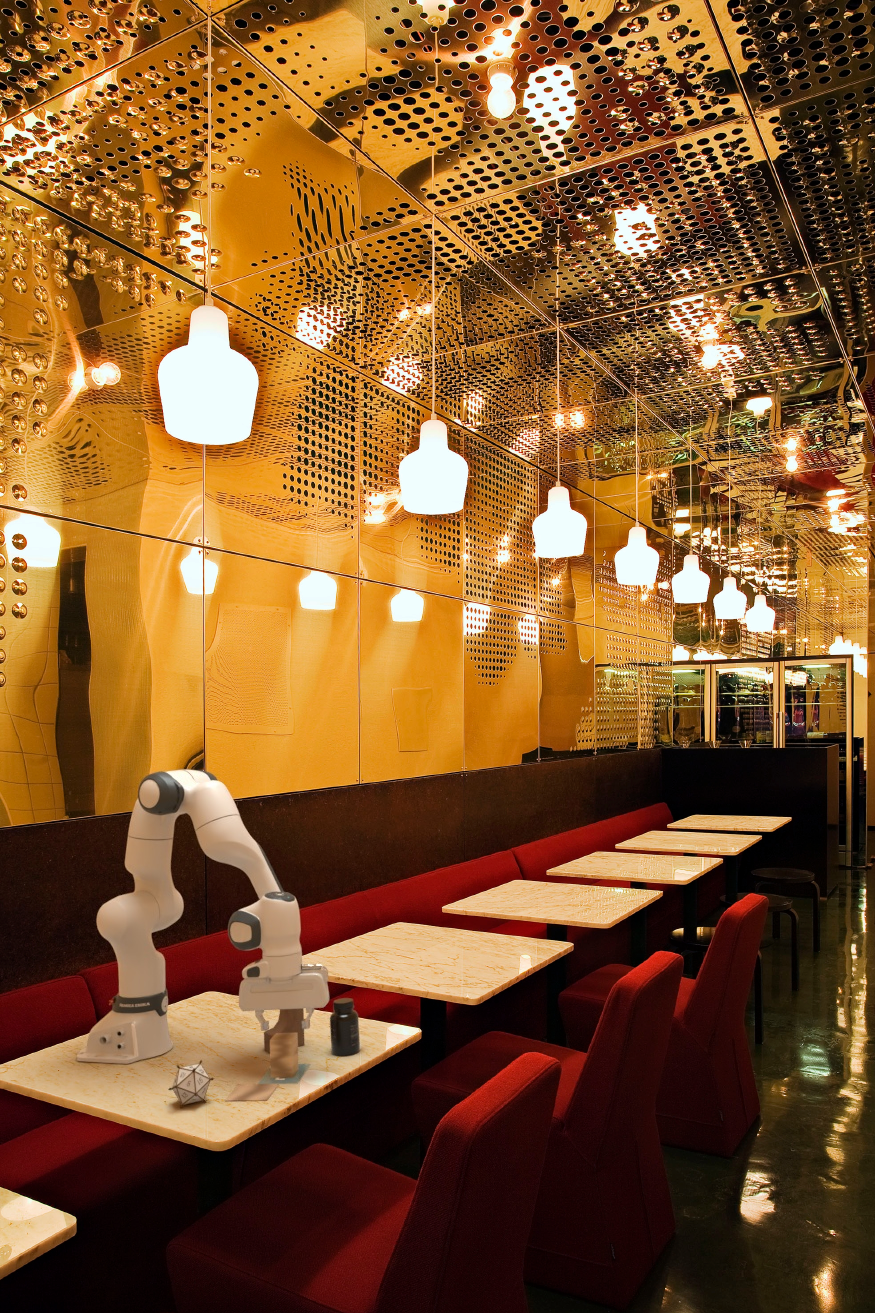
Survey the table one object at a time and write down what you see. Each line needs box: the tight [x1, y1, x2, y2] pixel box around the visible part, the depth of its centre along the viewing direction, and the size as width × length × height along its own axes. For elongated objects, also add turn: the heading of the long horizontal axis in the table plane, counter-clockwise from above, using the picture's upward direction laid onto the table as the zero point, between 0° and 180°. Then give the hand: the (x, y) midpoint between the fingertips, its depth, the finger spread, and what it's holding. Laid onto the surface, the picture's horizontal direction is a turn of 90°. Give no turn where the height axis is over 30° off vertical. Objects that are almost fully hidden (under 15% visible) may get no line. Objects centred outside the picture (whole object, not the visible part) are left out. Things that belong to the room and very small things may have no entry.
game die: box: [167, 1059, 215, 1109], centre depth 181 cm, size 9×8×10 cm
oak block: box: [269, 1033, 299, 1078], centre depth 195 cm, size 5×5×8 cm
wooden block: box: [263, 1008, 305, 1054], centre depth 214 cm, size 9×4×18 cm, turn 129°
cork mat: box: [224, 1083, 280, 1103], centre depth 184 cm, size 9×9×1 cm
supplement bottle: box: [329, 997, 361, 1057], centre depth 208 cm, size 7×7×12 cm
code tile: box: [257, 1063, 311, 1085], centre depth 195 cm, size 9×12×1 cm
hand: (285, 1029), depth 196 cm, fingers open, 8 cm apart
